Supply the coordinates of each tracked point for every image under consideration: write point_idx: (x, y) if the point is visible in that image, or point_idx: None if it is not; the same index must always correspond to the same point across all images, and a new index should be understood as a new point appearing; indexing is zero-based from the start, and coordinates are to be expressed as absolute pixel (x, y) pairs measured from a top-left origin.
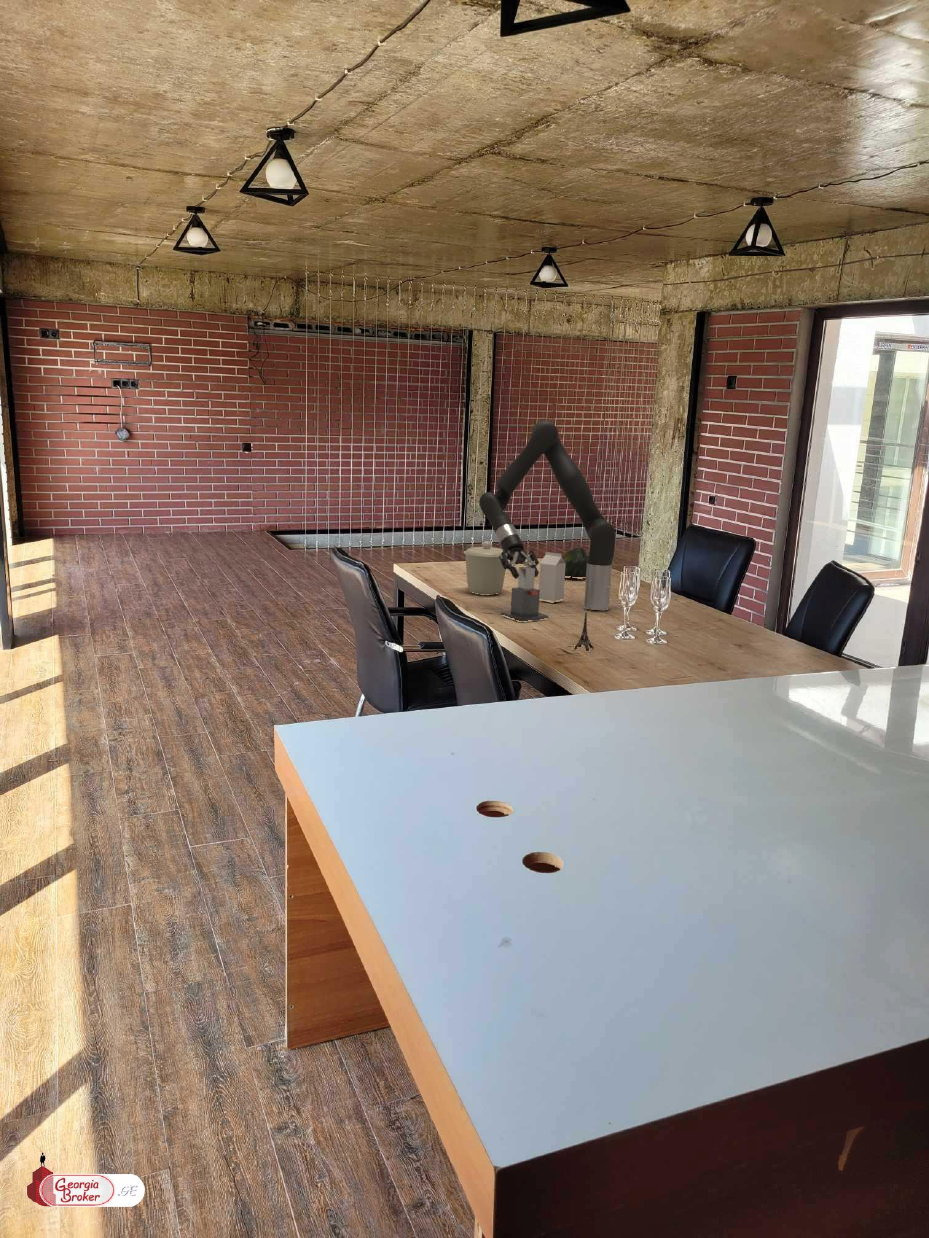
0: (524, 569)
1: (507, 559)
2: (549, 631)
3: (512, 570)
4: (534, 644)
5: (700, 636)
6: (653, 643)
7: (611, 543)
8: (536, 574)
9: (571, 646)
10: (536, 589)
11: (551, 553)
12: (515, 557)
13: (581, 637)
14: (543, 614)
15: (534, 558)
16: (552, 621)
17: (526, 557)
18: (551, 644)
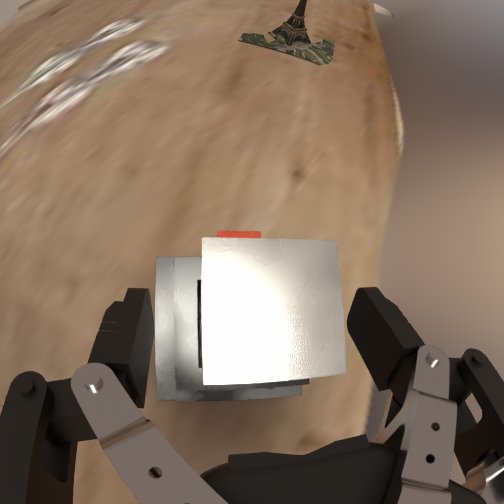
0: (335, 267)
1: (494, 409)
2: (268, 139)
3: (414, 336)
4: (365, 93)
5: (34, 43)
6: (137, 22)
7: None
8: (148, 296)
9: (304, 51)
10: (186, 276)
11: None
12: (432, 446)
13: (303, 22)
14: (160, 282)
15: (28, 447)
16: (162, 233)
17: (196, 482)
18: (332, 76)
